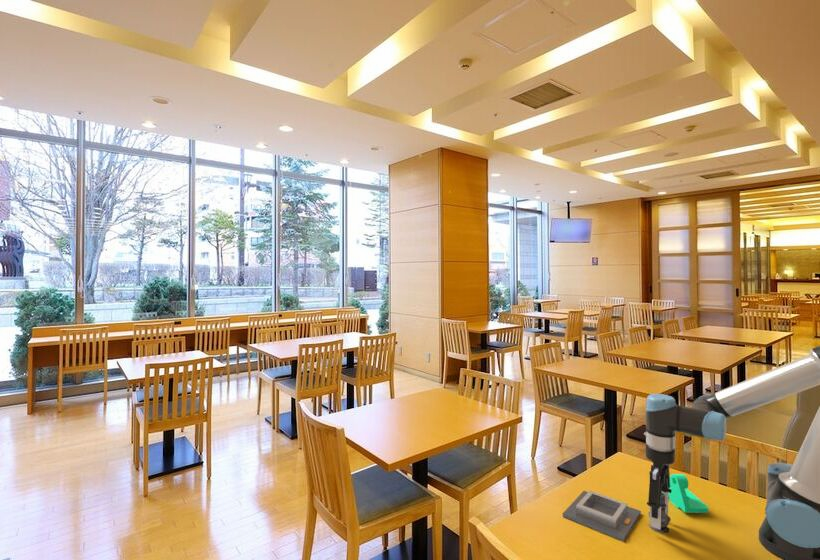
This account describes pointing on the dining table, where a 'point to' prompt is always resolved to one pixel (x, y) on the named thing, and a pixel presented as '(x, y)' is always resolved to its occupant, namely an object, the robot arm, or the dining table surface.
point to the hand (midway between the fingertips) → (659, 519)
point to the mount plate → (603, 514)
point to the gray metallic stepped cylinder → (662, 517)
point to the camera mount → (684, 495)
